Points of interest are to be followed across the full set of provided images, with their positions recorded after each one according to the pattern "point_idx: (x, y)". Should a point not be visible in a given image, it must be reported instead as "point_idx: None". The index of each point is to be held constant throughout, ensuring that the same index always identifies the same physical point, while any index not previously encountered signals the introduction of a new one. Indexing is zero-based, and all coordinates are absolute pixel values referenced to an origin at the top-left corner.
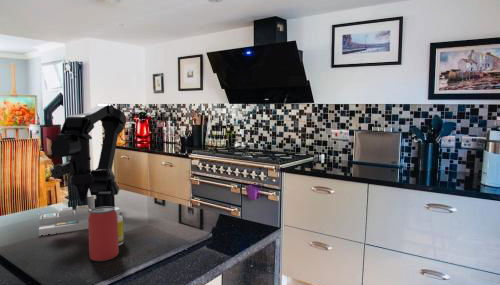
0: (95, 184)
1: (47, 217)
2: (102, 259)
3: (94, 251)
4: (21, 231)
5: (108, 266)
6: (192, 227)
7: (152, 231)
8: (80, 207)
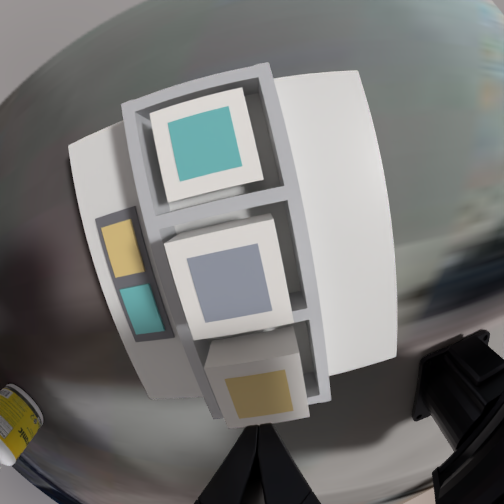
0: (501, 474)
1: (156, 142)
2: None
3: None
4: (207, 26)
5: None
6: None
7: (115, 482)
8: (241, 388)
